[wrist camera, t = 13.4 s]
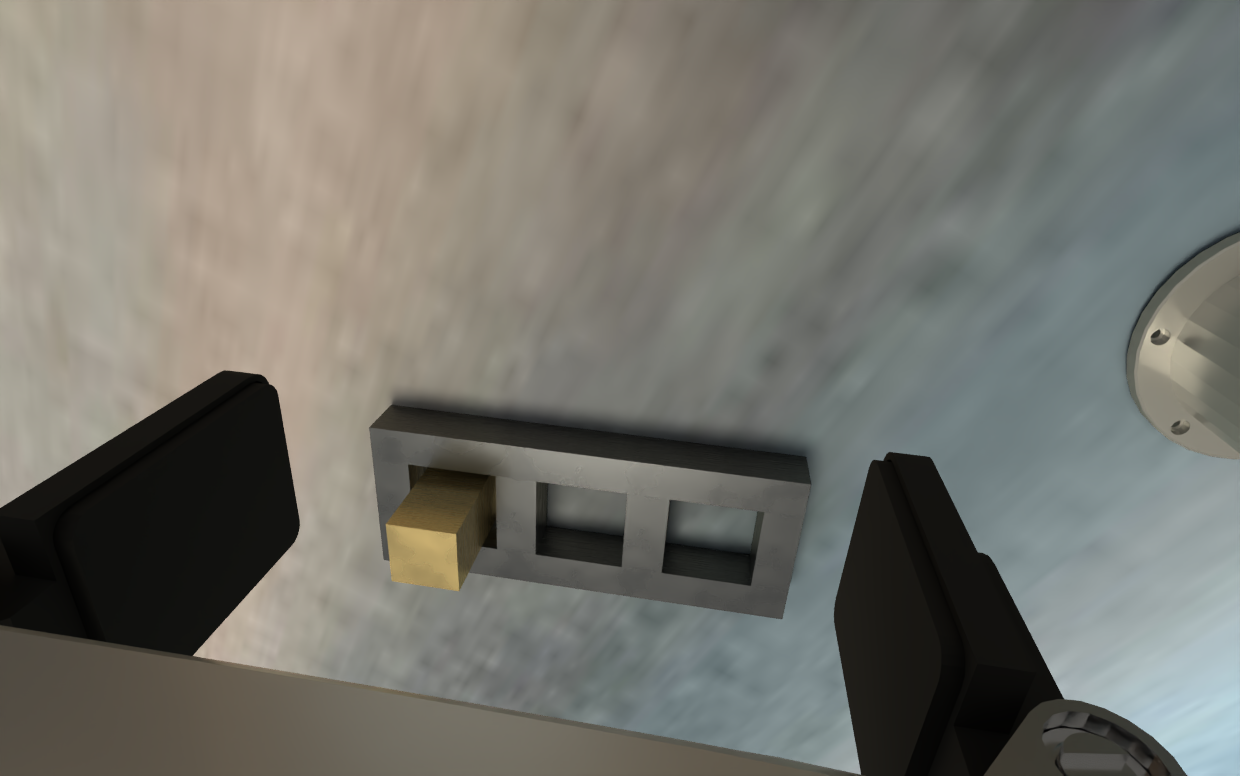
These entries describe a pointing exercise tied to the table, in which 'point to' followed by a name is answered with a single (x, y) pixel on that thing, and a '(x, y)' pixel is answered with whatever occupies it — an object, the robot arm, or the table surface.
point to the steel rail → (612, 465)
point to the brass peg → (441, 528)
